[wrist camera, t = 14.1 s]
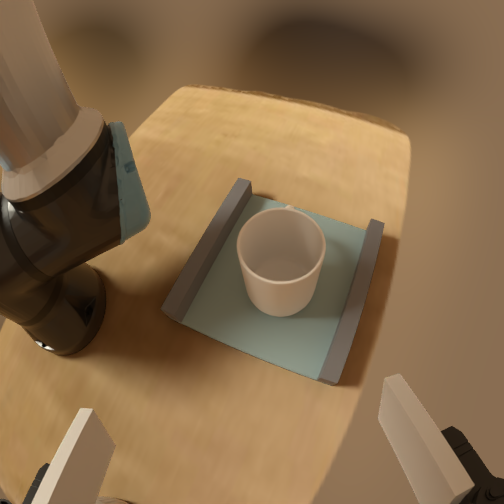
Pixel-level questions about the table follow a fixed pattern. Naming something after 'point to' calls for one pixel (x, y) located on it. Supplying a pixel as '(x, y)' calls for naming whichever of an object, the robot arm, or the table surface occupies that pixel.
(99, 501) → the ramekin
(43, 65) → the robot arm
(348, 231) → the tray with side rails
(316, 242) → the mug
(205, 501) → the table surface
